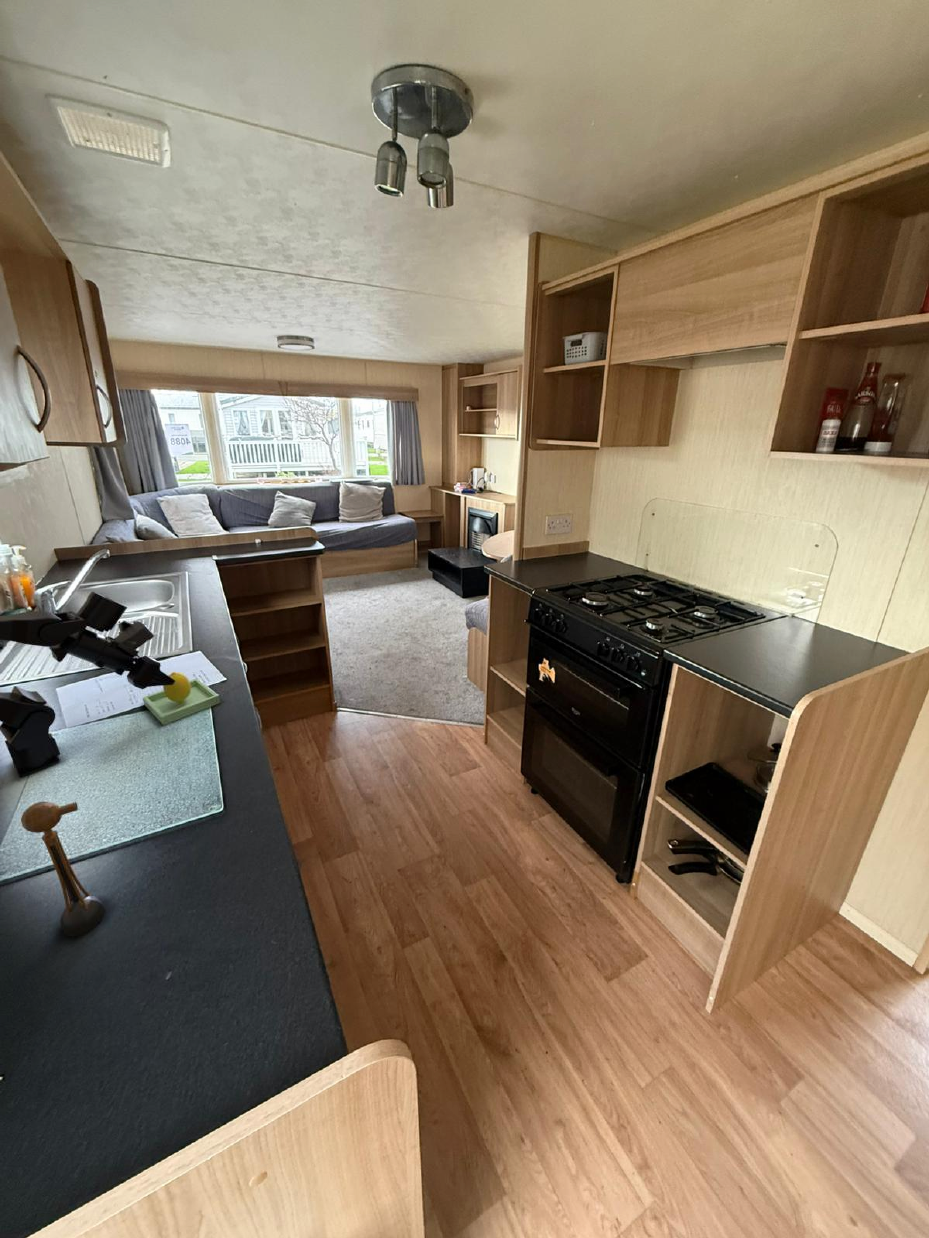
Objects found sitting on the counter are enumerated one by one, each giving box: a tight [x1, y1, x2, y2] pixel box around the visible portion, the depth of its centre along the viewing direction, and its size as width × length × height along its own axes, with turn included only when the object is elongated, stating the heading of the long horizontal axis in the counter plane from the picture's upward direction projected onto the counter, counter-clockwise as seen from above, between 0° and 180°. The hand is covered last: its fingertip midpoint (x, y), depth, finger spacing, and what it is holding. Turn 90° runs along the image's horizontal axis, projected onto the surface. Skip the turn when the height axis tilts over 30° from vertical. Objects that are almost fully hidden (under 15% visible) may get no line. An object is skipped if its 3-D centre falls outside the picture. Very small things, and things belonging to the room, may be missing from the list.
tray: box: [142, 678, 221, 726], centre depth 120 cm, size 13×13×2 cm
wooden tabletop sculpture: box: [20, 801, 107, 937], centre depth 65 cm, size 6×5×20 cm
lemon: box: [162, 671, 191, 703], centre depth 118 cm, size 6×6×8 cm
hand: (164, 676), depth 115 cm, fingers open, 9 cm apart
